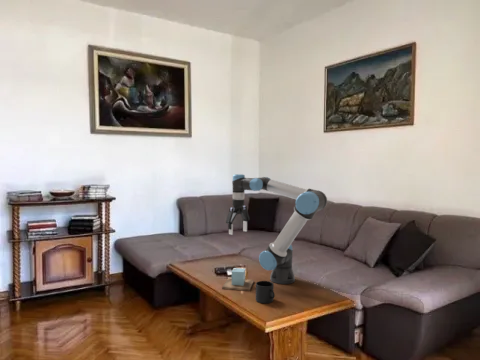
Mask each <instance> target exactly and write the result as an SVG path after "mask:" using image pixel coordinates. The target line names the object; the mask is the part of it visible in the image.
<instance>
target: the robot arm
mask: <svg viewBox="0 0 480 360" xmlns="http://www.w3.org/2000/svg"><path fill="white" fill-rule="evenodd" d="M261 190H262V191H266V192H270V193H274V194H277V195H279V196H283V197H286V198H290V199H293V200H295V205H294V206H293V213H292V215H291V216H290V217H289V219H288V221H287V222H286V223H285V225H284V227H283V228H282V230H280V233H279V234H278V235H277V237H276V239H274V241H273V242H270V243H269V244H268V246H267V247H266V249H265V250H263V251H261V252H260V253H259V255H258V256H259V257H258V260H259V265H260V267H262V268H263V269H264V270H266V271H271V273H270V276H269V277H270V278H269V279H270V282H272V283H273V284H279V285H289V284H293V283H295V281H296V277H295V273H294V269H293V253H294V252H293V251H294V250H293V245H292V243H293V242H294V241H295V239H296V238H297V236H298V235H299V233H300V232H301V230H302V229H303V227H304V226H305V225H306V223H307V221H310V220H311V221H312V219H313V218H314V217H315V215H316V214H317V212H320V211H323V210H324V208H326V207H327V205H328V197H327V195H326V193H324V192H322V191H320V190H316V189H312V188H308V189H307V188H303V187H299V186H295V185H292V184H288V183H284V182H281V181H278V180H274V179H271V178H270V177H267V176H263V177H246V176H245V174H243V173H242V174H241V173H238V174H235V173H234V174H233V175H232V201H231V202H232V203H231V204H232V207H229V211H228V215H227V217H226V220H225V224H227V229H228V235H231V236H233V235H234V224H233V223H234V221H235V219H236V218H237V216H238V215H240V216H241V218H242V220H243V221H242V231H243V232H248V222H249V221H250V220H251V218H250V215H249V214H250V213H249V211H248V207H247V206H246V205H245V196H246V195H245V194H246V193H245V191H253V192H259V191H261Z"/></svg>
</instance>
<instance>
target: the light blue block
mask: <svg viewBox="0 0 480 360" xmlns="http://www.w3.org/2000/svg"><path fill="white" fill-rule="evenodd" d="M231 278H232V285H241V286H243V285H244V283H245V279H246V268H240V267H239V268H238V267H237V268H236V267H233V269H232V271H231Z"/></svg>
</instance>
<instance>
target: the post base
mask: <svg viewBox="0 0 480 360" xmlns="http://www.w3.org/2000/svg"><path fill="white" fill-rule="evenodd" d="M254 282H255V279H246V278H245V283H244V285H243V286H241V285H232V277H229V278H227V279H226V281H224V283H223V285H222V287H221V290H232V291H245V292H246V291H247V292H250V291H251V290H252V289H251V288H252V287H253V285H254Z"/></svg>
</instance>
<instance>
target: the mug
mask: <svg viewBox="0 0 480 360" xmlns="http://www.w3.org/2000/svg"><path fill="white" fill-rule="evenodd" d="M274 284H275V283H274V282H272V281H268V280H261V281H257V282H256V283H255V301H256V302H257V303H259V304H271V303H273V302H274V298H275V296H276V295H275V294H276V293H275V292H274V288H275V287H274Z"/></svg>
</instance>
